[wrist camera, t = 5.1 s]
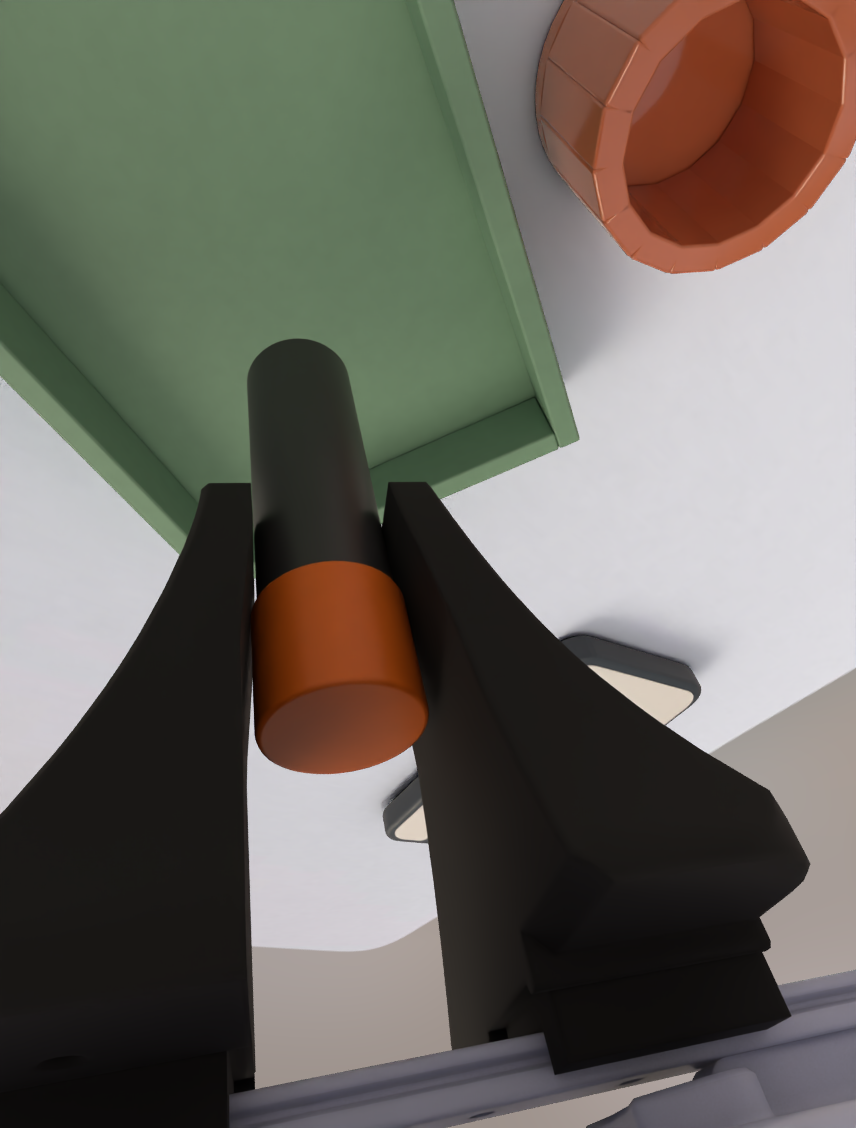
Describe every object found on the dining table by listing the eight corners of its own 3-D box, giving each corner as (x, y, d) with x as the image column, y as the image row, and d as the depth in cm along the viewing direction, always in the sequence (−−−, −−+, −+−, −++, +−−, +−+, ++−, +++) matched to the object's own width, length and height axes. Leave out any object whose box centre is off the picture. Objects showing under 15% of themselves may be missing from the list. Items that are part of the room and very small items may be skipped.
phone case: (565, 621, 30) (369, 812, 39) (578, 652, 29) (374, 841, 37) (700, 663, 35) (499, 825, 43) (716, 691, 34) (507, 852, 42)
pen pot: (563, 239, 18) (620, 314, 16) (505, -3, 14) (567, 45, 12) (770, 142, 17) (865, 205, 15) (766, -138, 14) (892, -120, 11)
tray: (218, 540, 23) (218, 594, 22) (-725, -488, 9) (-930, -546, 7) (554, 392, 22) (580, 440, 20) (82, -1161, 7) (46, -1422, 6)
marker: (277, 443, 16) (307, 792, 10) (219, 362, 14) (218, 725, 9) (371, 401, 15) (454, 738, 10) (323, 313, 14) (389, 657, 8)
